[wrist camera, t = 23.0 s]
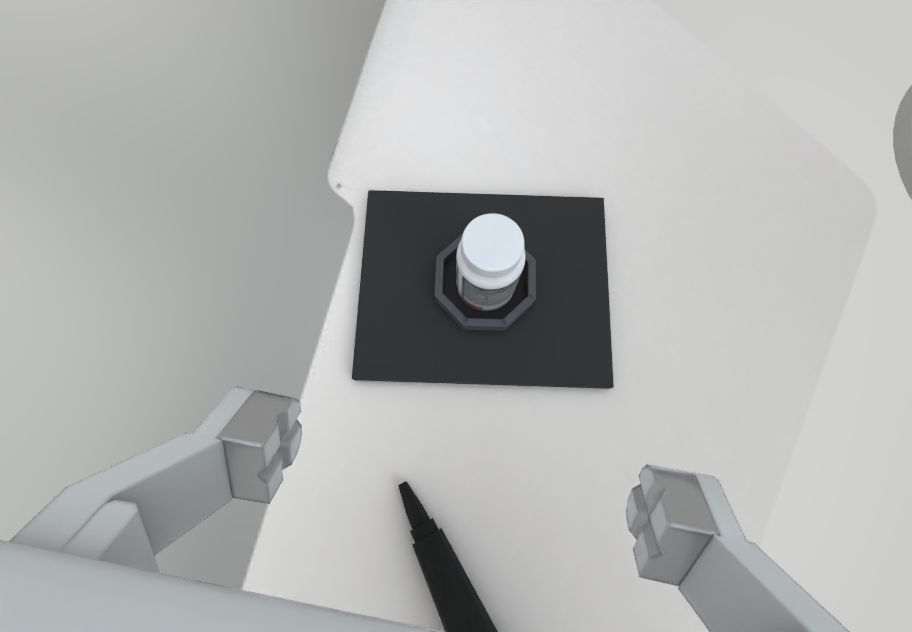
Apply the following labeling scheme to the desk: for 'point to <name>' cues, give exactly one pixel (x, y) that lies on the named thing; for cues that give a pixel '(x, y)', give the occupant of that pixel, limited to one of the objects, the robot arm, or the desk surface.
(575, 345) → the socket pad
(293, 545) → the desk surface
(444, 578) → the microphone
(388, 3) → the desk surface
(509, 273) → the pill bottle
